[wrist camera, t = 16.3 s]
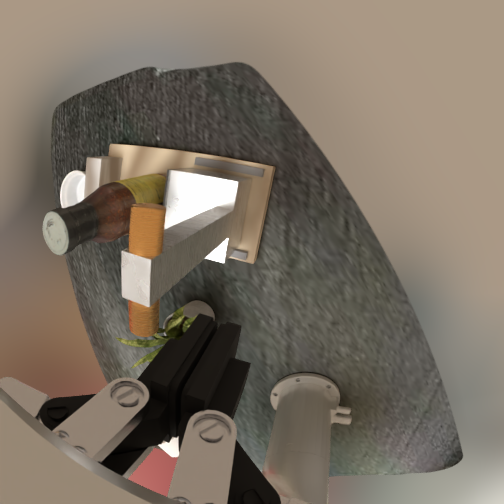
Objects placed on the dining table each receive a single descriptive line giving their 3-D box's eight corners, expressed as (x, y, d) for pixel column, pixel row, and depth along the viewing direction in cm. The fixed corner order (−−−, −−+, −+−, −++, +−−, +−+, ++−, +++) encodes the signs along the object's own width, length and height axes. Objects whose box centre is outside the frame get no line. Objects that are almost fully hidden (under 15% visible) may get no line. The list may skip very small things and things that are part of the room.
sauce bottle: (145, 170, 37) (33, 187, 19) (183, 175, 37) (75, 194, 18) (142, 214, 40) (37, 255, 21) (178, 222, 39) (77, 272, 20)
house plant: (261, 346, 44) (235, 422, 29) (192, 359, 49) (151, 422, 33) (224, 268, 42) (175, 326, 26) (154, 292, 46) (95, 343, 31)
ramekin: (99, 159, 41) (81, 160, 37) (117, 204, 43) (100, 209, 39) (71, 184, 44) (54, 187, 40) (87, 226, 45) (71, 232, 41)
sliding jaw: (252, 178, 35) (155, 204, 13) (239, 246, 38) (149, 346, 16) (191, 167, 36) (54, 183, 15) (182, 232, 39) (61, 304, 18)
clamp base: (275, 166, 36) (266, 167, 29) (256, 259, 40) (244, 277, 34) (117, 143, 39) (88, 143, 33) (110, 220, 44) (83, 230, 37)
